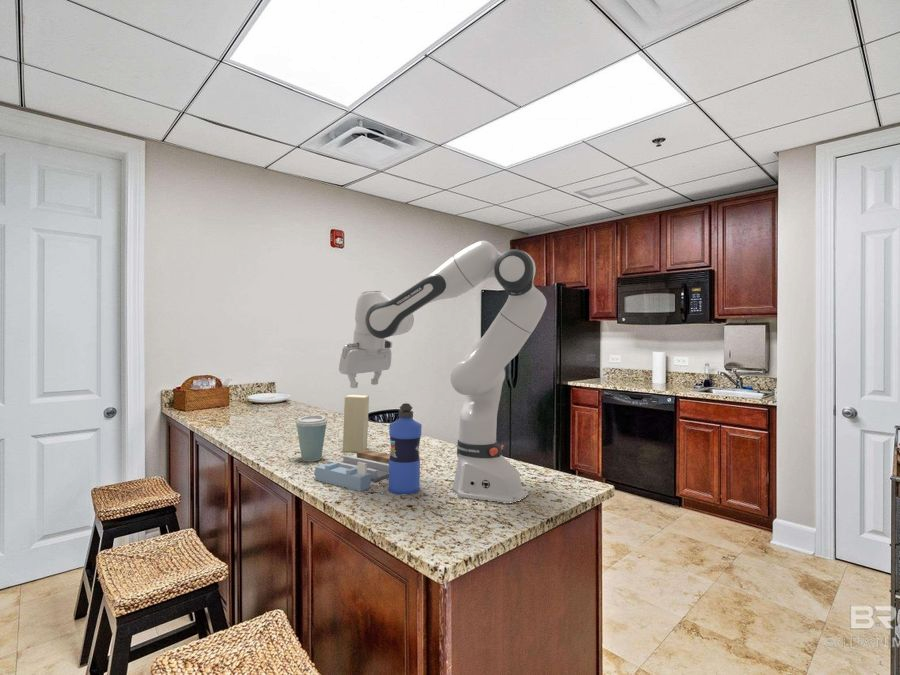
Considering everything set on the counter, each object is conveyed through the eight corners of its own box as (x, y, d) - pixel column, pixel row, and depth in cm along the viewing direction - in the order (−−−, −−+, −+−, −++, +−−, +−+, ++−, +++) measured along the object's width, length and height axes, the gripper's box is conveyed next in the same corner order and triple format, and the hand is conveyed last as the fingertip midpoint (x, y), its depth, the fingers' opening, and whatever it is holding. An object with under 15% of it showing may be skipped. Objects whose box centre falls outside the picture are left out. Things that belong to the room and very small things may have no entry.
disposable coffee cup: (317, 464, 161) (318, 420, 161) (288, 462, 163) (290, 418, 163) (331, 457, 171) (332, 415, 171) (304, 454, 173) (305, 414, 173)
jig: (396, 473, 152) (396, 464, 152) (374, 482, 143) (374, 472, 143) (345, 462, 164) (346, 454, 164) (322, 470, 154) (322, 461, 154)
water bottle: (390, 495, 132) (392, 406, 132) (385, 485, 141) (388, 401, 140) (422, 493, 134) (425, 406, 134) (416, 483, 143) (418, 401, 143)
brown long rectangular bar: (410, 467, 162) (410, 458, 162) (401, 470, 158) (401, 461, 158) (365, 457, 173) (366, 449, 173) (356, 460, 168) (356, 452, 168)
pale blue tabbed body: (370, 487, 138) (371, 462, 138) (360, 491, 134) (360, 465, 134) (321, 475, 148) (322, 451, 148) (310, 478, 145) (311, 454, 145)
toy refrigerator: (368, 448, 186) (369, 395, 186) (362, 452, 178) (364, 397, 178) (348, 447, 187) (350, 394, 186) (342, 451, 179) (344, 396, 179)
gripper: (351, 345, 137) (348, 391, 138) (395, 342, 154) (392, 384, 155) (335, 342, 140) (332, 388, 141) (381, 340, 157) (378, 381, 159)
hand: (364, 386), depth 148 cm, fingers open, 8 cm apart
